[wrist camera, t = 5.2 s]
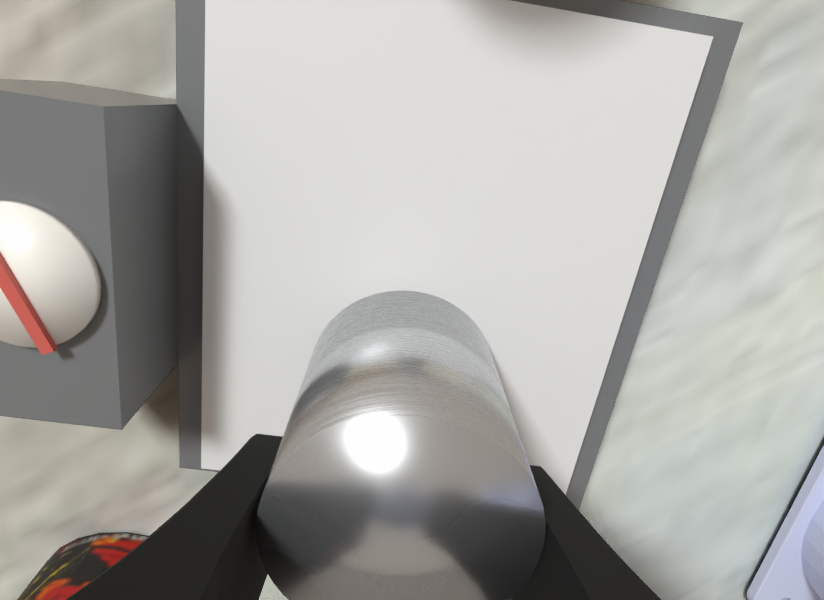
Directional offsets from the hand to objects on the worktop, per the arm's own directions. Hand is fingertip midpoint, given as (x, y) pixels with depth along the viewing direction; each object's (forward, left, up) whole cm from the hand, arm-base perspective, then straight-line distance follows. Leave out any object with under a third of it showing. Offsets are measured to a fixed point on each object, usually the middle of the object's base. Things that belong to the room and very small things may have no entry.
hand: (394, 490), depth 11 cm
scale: (+1, -3, -4) cm, 6 cm away
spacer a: (0, -1, -3) cm, 3 cm away
